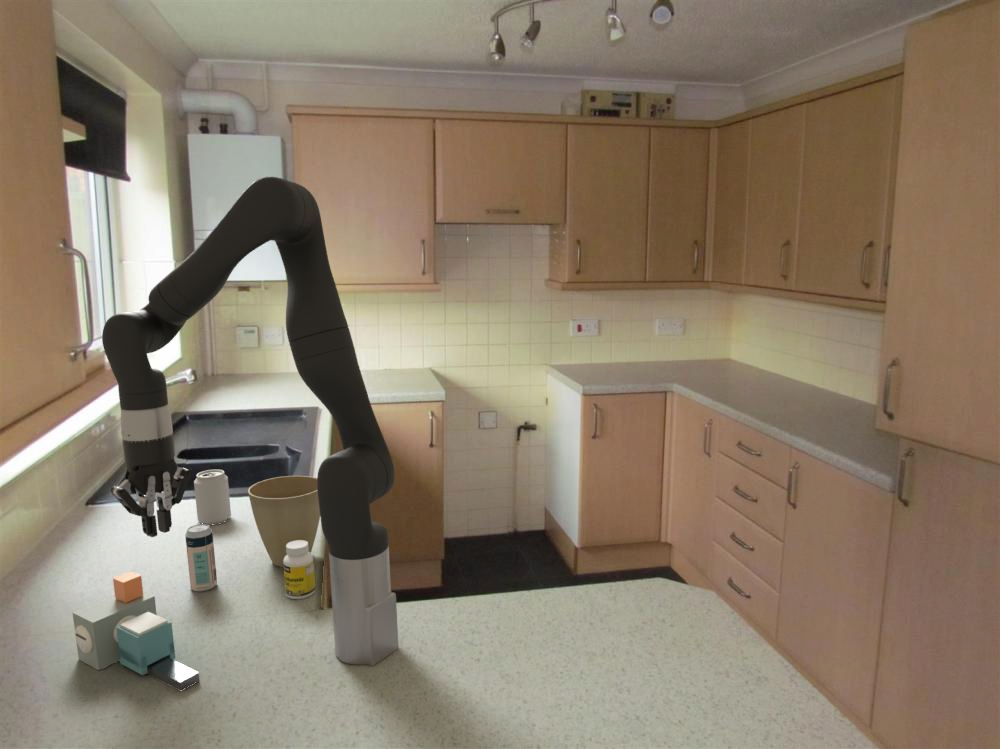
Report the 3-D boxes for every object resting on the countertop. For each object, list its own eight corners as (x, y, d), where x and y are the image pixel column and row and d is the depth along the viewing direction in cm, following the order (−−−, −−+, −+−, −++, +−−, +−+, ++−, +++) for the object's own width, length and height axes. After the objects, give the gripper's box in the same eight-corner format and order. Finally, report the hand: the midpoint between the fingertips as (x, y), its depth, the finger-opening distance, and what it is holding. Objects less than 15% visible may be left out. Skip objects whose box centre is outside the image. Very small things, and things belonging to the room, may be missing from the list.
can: (219, 512, 179) (215, 466, 177) (237, 519, 175) (233, 471, 173) (191, 522, 173) (186, 474, 171) (209, 529, 169) (205, 479, 167)
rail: (199, 681, 109) (198, 672, 108) (181, 691, 106) (180, 682, 106) (139, 651, 117) (138, 642, 117) (121, 659, 115) (120, 651, 115)
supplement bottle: (279, 597, 135) (275, 547, 133) (297, 585, 140) (293, 536, 138) (304, 602, 133) (300, 551, 131) (321, 589, 138) (318, 540, 136)
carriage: (175, 658, 114) (171, 619, 113) (142, 675, 109) (137, 635, 108) (153, 647, 117) (149, 609, 116) (120, 663, 113) (115, 624, 112)
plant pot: (299, 580, 142) (293, 502, 139) (238, 569, 147) (231, 494, 144) (342, 550, 155) (338, 478, 153) (285, 541, 161) (280, 472, 158)
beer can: (209, 579, 143) (203, 521, 141) (222, 586, 140) (216, 527, 138) (185, 588, 139) (179, 529, 137) (198, 595, 136) (192, 534, 134)
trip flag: (143, 595, 119) (141, 575, 118) (125, 603, 116) (123, 582, 116) (133, 591, 121) (130, 571, 120) (115, 598, 118) (112, 578, 118)
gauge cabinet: (160, 641, 120) (155, 596, 119) (96, 673, 111) (90, 624, 110) (138, 631, 124) (133, 587, 122) (75, 661, 115) (68, 614, 114)
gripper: (119, 446, 111) (131, 552, 114) (198, 426, 123) (208, 524, 126) (93, 439, 115) (105, 543, 118) (172, 421, 127) (182, 516, 130)
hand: (158, 533), depth 122 cm, fingers closed
